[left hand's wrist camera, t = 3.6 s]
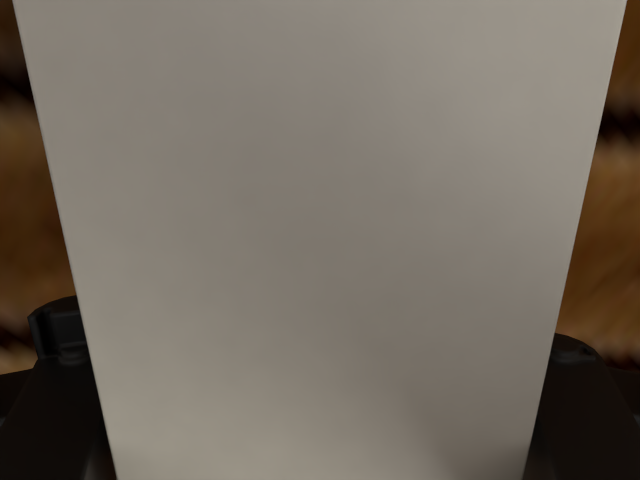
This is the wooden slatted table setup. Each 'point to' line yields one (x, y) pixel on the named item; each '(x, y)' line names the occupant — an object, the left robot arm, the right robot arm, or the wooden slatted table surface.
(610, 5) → the bar
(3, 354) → the wooden slatted table surface
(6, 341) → the wooden slatted table surface
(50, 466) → the left robot arm
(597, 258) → the wooden slatted table surface
